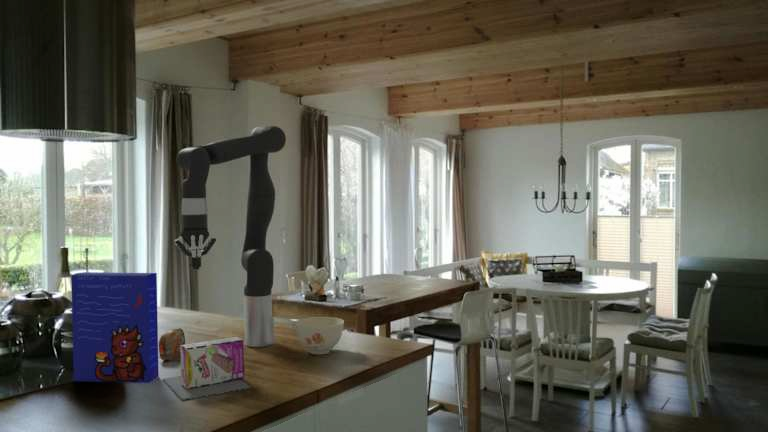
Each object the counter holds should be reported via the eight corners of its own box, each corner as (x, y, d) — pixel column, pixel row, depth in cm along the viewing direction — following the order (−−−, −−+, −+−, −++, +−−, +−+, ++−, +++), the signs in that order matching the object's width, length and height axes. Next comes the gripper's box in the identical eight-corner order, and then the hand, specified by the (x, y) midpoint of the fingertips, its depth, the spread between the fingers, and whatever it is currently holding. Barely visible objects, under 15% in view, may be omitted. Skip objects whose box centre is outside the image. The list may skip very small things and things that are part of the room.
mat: (225, 370, 182) (225, 368, 182) (250, 388, 166) (250, 386, 166) (162, 380, 173) (162, 378, 173) (181, 400, 156) (181, 398, 156)
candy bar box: (245, 378, 172) (186, 390, 163) (238, 374, 176) (180, 386, 167) (244, 338, 172) (184, 348, 162) (237, 335, 176) (179, 344, 166)
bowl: (285, 354, 199) (285, 324, 199) (313, 343, 213) (313, 315, 213) (327, 361, 192) (326, 329, 191) (353, 349, 206) (353, 319, 205)
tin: (167, 363, 190) (166, 336, 189) (157, 363, 190) (156, 336, 190) (186, 351, 205) (185, 325, 204) (177, 350, 205) (176, 325, 205)
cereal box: (158, 376, 176) (156, 272, 175) (148, 383, 170) (146, 275, 169) (86, 374, 179) (83, 271, 177) (73, 381, 173) (71, 274, 171)
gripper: (212, 212, 196) (213, 266, 197) (169, 213, 189) (170, 269, 190) (219, 212, 190) (221, 268, 191) (175, 214, 183) (177, 272, 184)
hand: (195, 269), depth 190 cm, fingers closed
